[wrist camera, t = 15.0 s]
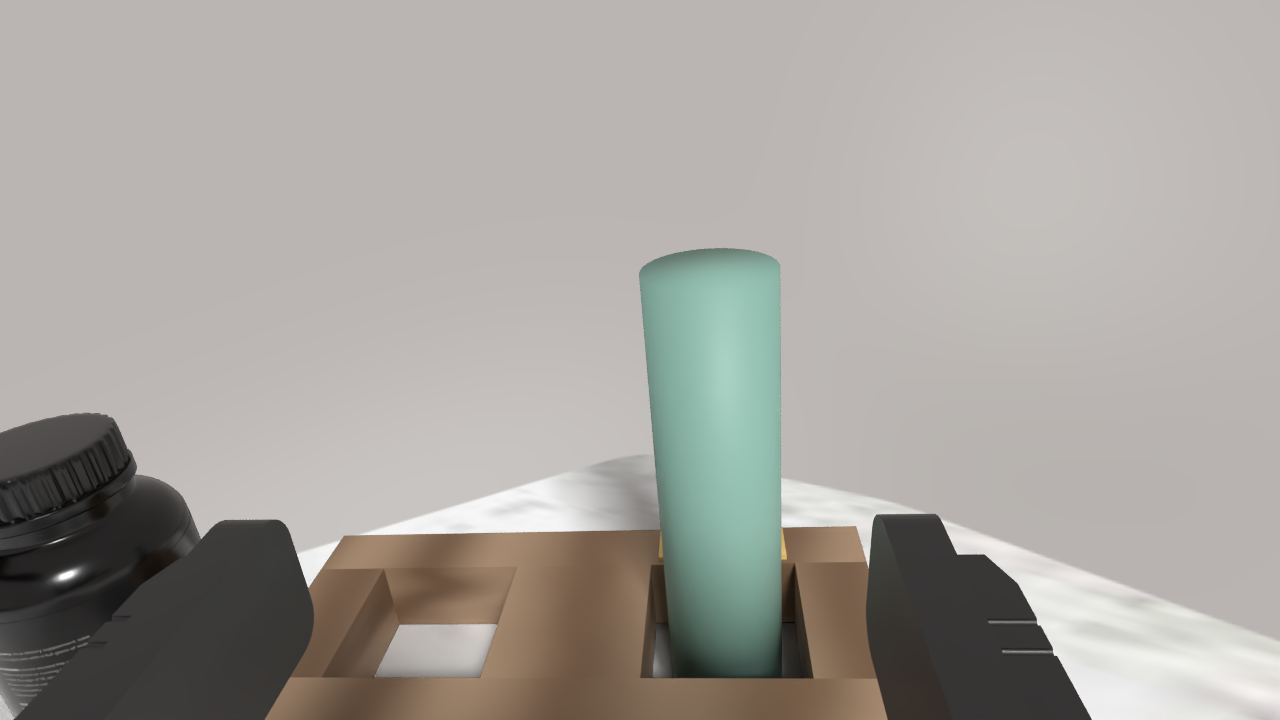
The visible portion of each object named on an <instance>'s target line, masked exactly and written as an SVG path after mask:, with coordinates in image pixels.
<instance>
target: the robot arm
mask: <svg viewBox="0 0 1280 720" xmlns="http://www.w3.org/2000/svg"><path fill="white" fill-rule="evenodd" d="M313 625H314V608H313V603H312V599H311V596H310V593H309V590H308V587H307V584H306V581H305V578H304V575H303V572H302V569H301V566H300V563H299V560H298V557H297V554H296V551H295V548H294V545H293V542H292V539H291V535H290V533H289V530H288V528H287V527H286V525H285V524H284V523H283V522H281V521H279V520H224V521H221V522H219V523H217V524H216V525H214V526H213V527H212V528H211V529H210V530H209V532H208V533H207V534H206V535H205V536H204V537H203V538H202V539H201V540H200V541H199V542H198V544H197V545H196V546H195V547H194V548H193V549H192V550H191V551H190V552H189V553H188V554H187V556H186V557H185V558H180V559H178V560H177V561H175V562H174V563H172V564H171V565H169V566H168V567H166V568H165V569H163V570H162V571H160V572H159V573H157V574H156V575H155V576H153V577H152V578H150V579H149V580H147V581H146V582H144V583H143V584H141V585H140V586H139V587H138V588H137V590H136V591H135V592H134V593H133V594H132V595H131V596H130V597H129V598H128V599H127V600H126V601H125V602H124V603H123V604H122V605H121V606H120V608H119V609H118V610H117V611H116V612H115V613H114V614H113V615H112V620H111V622H105V623H104V625H103V626H102V627H101V628H100V629H99V630H98V631H97V632H96V633H95V634H94V635H93V636H92V637H91V638H90V639H89V640H88V641H87V642H88V645H87V647H86V648H81V649H80V650H79V651H78V652H77V653H76V654H75V655H74V656H73V657H72V658H71V659H70V661H69V662H68V663H67V664H66V665H65V666H64V667H63V668H62V669H61V670H60V671H59V672H58V673H57V674H56V675H55V676H54V677H53V679H52V680H51V681H50V682H49V683H48V684H47V685H46V686H45V687H44V688H43V689H42V690H41V691H40V692H39V693H38V694H37V695H36V697H35V698H34V699H33V700H32V701H31V702H30V703H29V704H28V705H27V706H26V707H25V708H24V709H23V710H22V711H21V712H20V713H19V715H18V716H17V717H16V718H15V719H14V720H265V718H266V717H267V715H268V713H269V712H270V710H271V708H272V707H273V705H274V703H275V702H276V700H277V698H278V696H279V695H280V693H281V691H282V690H283V688H284V686H285V685H286V683H287V681H288V680H289V678H290V676H291V675H292V673H293V671H294V670H295V668H296V666H297V665H298V663H299V661H300V660H301V658H302V656H303V655H304V653H305V651H306V649H307V647H308V645H309V642H310V639H311V636H312V631H313ZM866 626H867V636H868V643H869V649H870V654H871V658H872V662H873V666H874V669H875V673H876V677H877V681H878V685H879V688H880V692H881V696H882V700H883V704H884V707H885V711H886V715H887V719H888V720H1092V719H1091V717H1090V715H1089V714H1088V712H1087V710H1086V708H1085V706H1084V704H1083V703H1082V701H1081V699H1080V697H1079V695H1078V693H1077V692H1076V690H1075V688H1074V686H1073V684H1072V682H1071V681H1070V679H1069V677H1068V675H1067V673H1066V671H1065V670H1064V668H1063V666H1062V664H1061V662H1060V660H1059V659H1058V657H1057V656H1054V654H1053V648H1052V646H1051V644H1050V642H1049V640H1048V638H1047V637H1046V635H1045V633H1044V631H1043V629H1042V627H1041V626H1038V625H1037V618H1036V616H1035V614H1034V613H1033V611H1032V609H1031V607H1030V605H1029V603H1028V602H1027V600H1026V598H1025V596H1024V594H1023V592H1022V591H1021V589H1020V587H1019V585H1018V584H1017V583H1016V582H1015V581H1014V580H1013V579H1012V578H1011V577H1009V576H1008V575H1007V574H1006V573H1005V572H1004V571H1003V570H1001V569H1000V568H999V567H998V566H997V565H996V564H995V563H993V562H992V561H991V560H990V559H989V558H988V557H987V556H985V555H957V553H956V551H955V549H954V547H953V545H952V543H951V540H950V538H949V536H948V534H947V532H946V530H945V528H944V525H943V523H942V521H941V519H940V518H939V517H938V516H937V515H936V514H881V515H876V516H875V518H874V521H873V527H872V537H871V550H870V562H869V574H868V586H867V598H866Z"/></svg>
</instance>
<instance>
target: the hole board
mask: <svg viewBox="0 0 1280 720" xmlns="http://www.w3.org/2000/svg"><path fill="white" fill-rule="evenodd" d="M868 574H869V569H868V565H867V562H866V558H865V555H864V552H863V548H862V545H861V541H860V538H859V535H858V531H857V528H856V526H849V527H794V528H782V527H781V582H782V622H795V627H796V634H797V641H798V648H799V654H800V661H801V668H802V675H803V679H795V678H652V674H653V661H654V648H655V635H656V623H669V620H668V608H667V597H666V585H665V573H664V561H663V549H662V538H661V530H631V531H577V532H522V533H468V534H413V535H359V536H344V537H343V538H342V540H341V541H340V543H339V544H338V546H337V547H336V549H335V550H334V551H333V553H332V554H331V556H330V557H329V559H328V560H327V562H326V563H325V565H324V566H323V568H322V569H321V570H320V572H319V573H318V575H317V576H316V578H315V579H314V581H313V582H312V584H311V585H310V587H309V588H308V590H309V593H310V596H311V599H312V603H313V608H314V625H313V631H312V636H311V639H310V642H309V645H308V647H307V649H306V651H305V653H304V655H303V656H302V658H301V660H300V661H299V663H298V665H297V666H296V668H295V670H294V671H293V673H292V675H291V676H290V678H289V680H288V681H287V683H286V685H285V686H284V688H283V690H282V691H281V693H280V695H279V696H278V698H277V700H276V702H275V703H274V705H273V707H272V708H271V710H270V712H269V713H268V715H267V717H266V718H265V720H888V719H887V715H886V711H885V707H884V704H883V700H882V696H881V692H880V688H879V685H878V681H877V677H876V673H875V669H874V666H873V662H872V658H871V654H870V649H869V643H868V636H867V626H866V598H867V586H868ZM399 624H498V626H497V629H496V632H495V635H494V638H493V640H492V643H491V646H490V649H489V652H488V655H487V658H486V661H485V664H484V667H483V670H482V673H481V676H480V678H373V677H374V675H375V672H376V670H377V668H378V666H379V664H380V662H381V660H382V658H383V656H384V654H385V652H386V650H387V648H388V646H389V644H390V642H391V640H392V638H393V636H394V634H395V632H396V630H397V628H398V626H399Z"/></svg>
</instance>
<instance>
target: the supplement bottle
mask: <svg viewBox="0 0 1280 720" xmlns="http://www.w3.org/2000/svg"><path fill="white" fill-rule="evenodd" d="M136 469H137V465H136V462H135V460H134V457H133V455H132V453H131V451H130V450H129V449H127V447H126V445H125V442H124V440H123V437H122V435H121V432H120V430H119V428H118V426H117V424H116V422H115V421H114V419H113V418H111V417H108V415H101V414H99V413H94V414H91V413H82V414H70V415H62V416H57V417H54V418H46V419H43V420H40V421H36V422H31V423H28V424H25V425H23V426H19V427H15V428H13V429H10V430H7V431H4V432H1V433H0V694H1V696H2V698H3V699H4V701H5V703H6V704H7V706H8V708H9V710H10V711H11V713H12V715H13V716H14V718H16V717H17V716H18V715H19V713H20V712H21V711H22V710H23V709H24V708H25V707H26V706H27V705H28V704H29V703H30V702H31V701H32V700H33V699H34V698H35V697H36V695H37V694H38V693H39V692H40V691H41V690H42V689H43V688H44V687H45V686H46V685H47V684H48V683H49V682H50V681H51V680H52V679H53V677H54V676H55V675H56V674H57V673H58V672H59V671H60V670H61V669H62V668H63V667H64V666H65V665H66V664H67V663H68V662H69V661H70V659H71V658H72V657H73V656H74V655H75V654H76V653H77V652H78V651H79V650H80V649H81V648H86V647H87V645H88V642H87V641H88V640H89V639H90V638H91V637H92V636H93V635H94V634H95V633H96V632H97V631H98V630H99V629H100V628H101V627H102V626H103V625H104V623H105V622H111V620H112V615H113V614H114V613H115V612H116V611H117V610H118V609H119V608H120V606H121V605H122V604H123V603H124V602H125V601H126V600H127V599H128V598H129V597H130V596H131V595H132V594H133V593H134V592H135V591H136V590H137V588H138V587H139V586H140V585H141V584H143V583H144V582H146V581H147V580H149V579H150V578H152V577H153V576H155V575H156V574H157V573H159V572H160V571H162V570H163V569H165V568H166V567H168V566H169V565H171V564H172V563H174V562H175V561H177V560H178V559H180V558H185V557H186V556H187V554H188V553H189V552H190V551H191V550H192V549H193V548H194V547H195V546H196V545H197V544H198V542H199V541H200V540H201V538H200V536H199V533H198V531H197V528H196V526H195V523H194V521H193V518H192V516H191V513H190V511H189V509H188V507H187V505H186V502H185V500H184V499H183V497H182V496H181V495H180V493H179V492H177V491H176V490H175V489H174V488H173V487H171V486H170V485H168V484H166V483H164V482H162V481H160V480H158V479H155V478H152V477H147V476H143V475H135V473H136Z"/></svg>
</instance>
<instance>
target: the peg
mask: <svg viewBox="0 0 1280 720" xmlns="http://www.w3.org/2000/svg"><path fill="white" fill-rule="evenodd" d="M639 279H640V291H641V302H642V313H643V326H644V337H645V350H646V360H647V373H648V384H649V396H650V408H651V420H652V432H653V444H654V455H655V467H656V479H657V491H658V502H659V514H660V526H661V538H662V549H663V561H664V573H665V585H666V597H667V608H668V620H669V632H670V644H671V655H672V667H673V678H782V582H781V347H780V346H781V345H780V344H781V342H780V341H781V338H780V337H781V336H780V264H779V262H777V260H776V259H774V258H772V257H771V256H768V255H766V254H762V253H759V252H755V251H750V250H742V249H728V248H716V249H699V250H691V251H684V252H679V253H674V254H671V255H667V256H664V257H660V258H658V259H655V260H653V261H651V262H649V263H647V264H646V265H645V266H643V267H642V269H641V270H640V273H639Z"/></svg>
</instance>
